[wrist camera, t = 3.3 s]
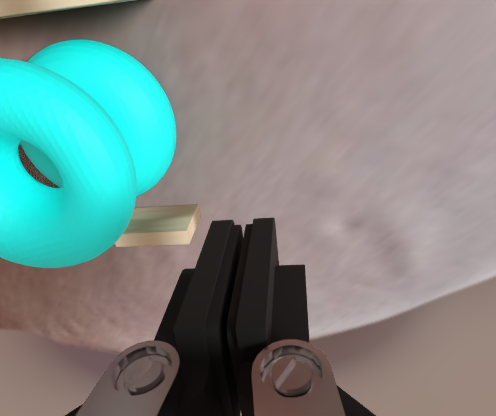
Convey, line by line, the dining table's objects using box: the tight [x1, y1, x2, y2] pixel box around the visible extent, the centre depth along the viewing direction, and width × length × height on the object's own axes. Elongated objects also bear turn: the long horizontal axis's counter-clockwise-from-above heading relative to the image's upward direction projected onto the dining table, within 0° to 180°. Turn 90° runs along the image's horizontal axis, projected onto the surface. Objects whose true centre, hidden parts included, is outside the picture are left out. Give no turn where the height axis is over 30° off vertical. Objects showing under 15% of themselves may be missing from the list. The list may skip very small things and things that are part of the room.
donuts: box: [0, 40, 176, 268], centre depth 21 cm, size 10×10×10 cm
